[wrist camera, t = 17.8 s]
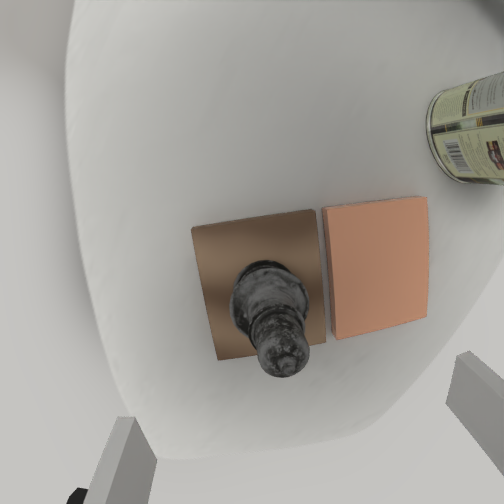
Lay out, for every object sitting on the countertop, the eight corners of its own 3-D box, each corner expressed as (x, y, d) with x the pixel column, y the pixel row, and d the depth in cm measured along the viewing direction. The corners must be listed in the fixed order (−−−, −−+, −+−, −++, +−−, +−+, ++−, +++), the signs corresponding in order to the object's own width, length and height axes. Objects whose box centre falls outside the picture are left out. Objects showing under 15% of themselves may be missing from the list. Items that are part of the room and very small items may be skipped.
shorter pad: (193, 227, 26) (190, 229, 25) (310, 209, 26) (315, 210, 25) (218, 352, 29) (217, 360, 27) (322, 334, 29) (326, 342, 28)
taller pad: (321, 207, 26) (326, 209, 25) (418, 196, 27) (426, 197, 25) (332, 332, 29) (336, 340, 28) (419, 311, 29) (426, 316, 28)
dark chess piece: (309, 268, 26) (366, 334, 14) (285, 329, 27) (318, 422, 15) (242, 247, 25) (251, 305, 13) (220, 312, 26) (214, 404, 15)
